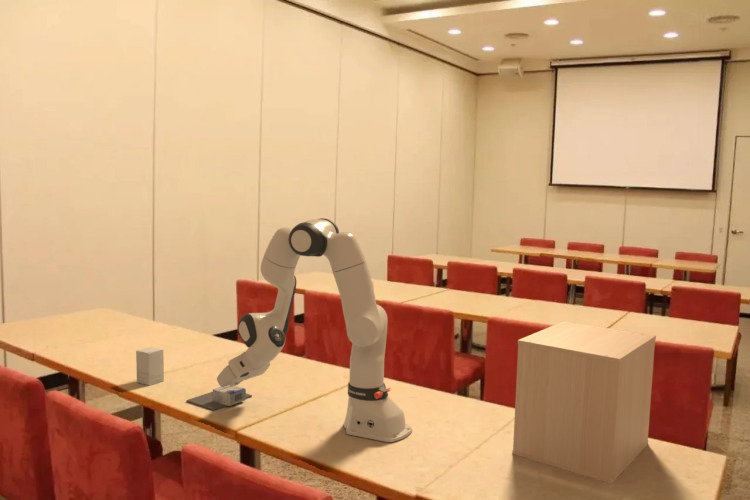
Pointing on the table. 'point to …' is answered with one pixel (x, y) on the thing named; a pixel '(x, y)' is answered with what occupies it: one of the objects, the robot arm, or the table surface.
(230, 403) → the medicine box
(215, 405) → the mat
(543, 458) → the cabinet
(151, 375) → the supplement box
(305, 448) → the table surface
